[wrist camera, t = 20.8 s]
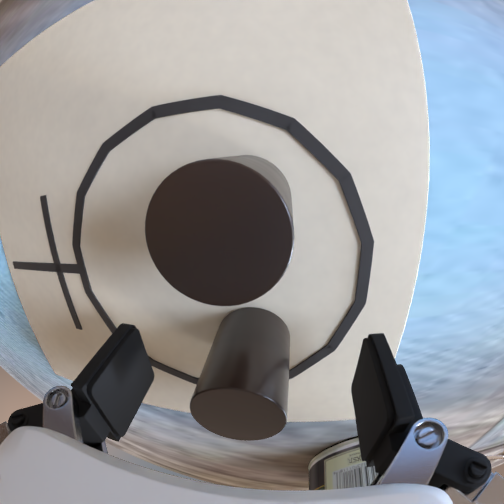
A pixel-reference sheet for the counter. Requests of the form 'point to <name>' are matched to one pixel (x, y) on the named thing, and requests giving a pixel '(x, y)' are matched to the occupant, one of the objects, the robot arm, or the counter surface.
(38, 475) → the robot arm
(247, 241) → the dot
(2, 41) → the counter surface
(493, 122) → the counter surface
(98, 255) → the board
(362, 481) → the coffee can
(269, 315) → the dot
